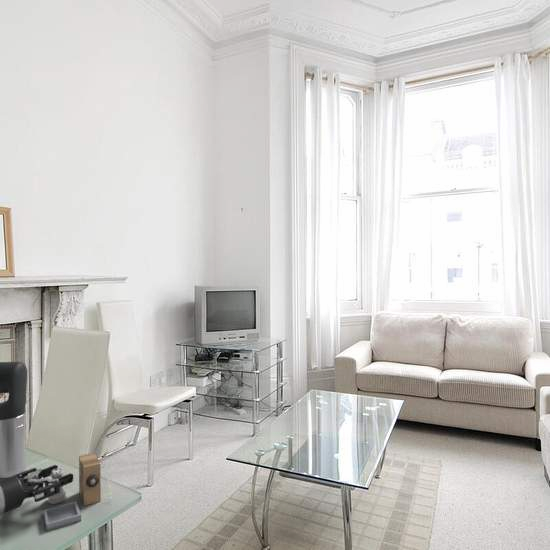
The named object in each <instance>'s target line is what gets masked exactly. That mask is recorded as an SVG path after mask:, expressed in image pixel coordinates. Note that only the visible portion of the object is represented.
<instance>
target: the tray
mask: <svg viewBox="0 0 550 550" xmlns="http://www.w3.org/2000/svg"><path fill="white" fill-rule="evenodd" d="M43 520H44V525H45V530H46V532H48V531H52V530H56V529H58V528H62V527H65V526H68V525H71V524H76V523H79V522H81V521H82V513H81V511H80V508H79V506H78V502H77V500H74V501H72V502H67V503H63V504H61V505H60V504H59V505H57V506H54V507H49V508H46V509H43Z"/></svg>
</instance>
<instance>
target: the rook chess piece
mask: <svg viewBox="0 0 550 550" xmlns="http://www.w3.org/2000/svg"><path fill="white" fill-rule="evenodd" d="M64 473H65V472H64V471H63V468H62V467H59V468H56V470H55V469H53V471H52V473H51V474H50V476H49V477H51V479H58V478H60V477H62V476H64ZM51 484H53V483H51ZM51 492H52V491H51ZM66 499H67V491H66V490H65V488H64V486H62V487H60V493H58V494H55V495H53V496H51V497H48V498H47V502H48V503H49V504H51V505H58V504H60V503H63V502H64V501H65V500H66Z"/></svg>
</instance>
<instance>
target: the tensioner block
mask: <svg viewBox="0 0 550 550" xmlns="http://www.w3.org/2000/svg"><path fill="white" fill-rule="evenodd" d="M101 486H102V485H101V463H100V461H99V458H98V456H97V455H96V453H95V452H92V453H86V454H82V455H78V493H79V496H80V498H81V501H82V504H83V506H84V507H85V506H89V505H92V504H95V503H96V504H97V503H100V502H101V499H102V498H101V492H102V491H101Z"/></svg>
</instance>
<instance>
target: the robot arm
mask: <svg viewBox="0 0 550 550" xmlns="http://www.w3.org/2000/svg"><path fill="white" fill-rule="evenodd" d="M27 385H28V369H27V365H26V364H25V363H24V362H23V361H0V394H8V398H7V400H5V401H2V402H0V479H1V480H0V516H2V515H4V514H7V513H9V512H12V511H14V510H16V509H18V508H20V507H21V506H22V505H23V503H24V501H25V499H29V498H34V503H39V502H41V501H43V500H46V499H49V498H48V497H51V496H53V495H55V494H58V493H60V487H62V486H63V487H64V486H67V485H68V484H71V483H73V482H74V474H73V473H67V474H65V475H62V477H60V478H58V479H52V478H51V479H50V478H48V477H51V476H50V474H51V473H52V471H53V469H55V470H56V468H58V467H59V466H58V465H56V464H54V465H51V466H49V467H48V466H47V467H45V468H38V469H37V467H33V468H30V469H28V470H26V467H27V466H26V465H27V462H26V460H27V459H26V458H27V457H26V455H27V454H26V452H27V451H26V449H27V448H26V405H27V391H28V390H27V388H28V387H27ZM52 483H53V484H52ZM51 491H52V492H51Z"/></svg>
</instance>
